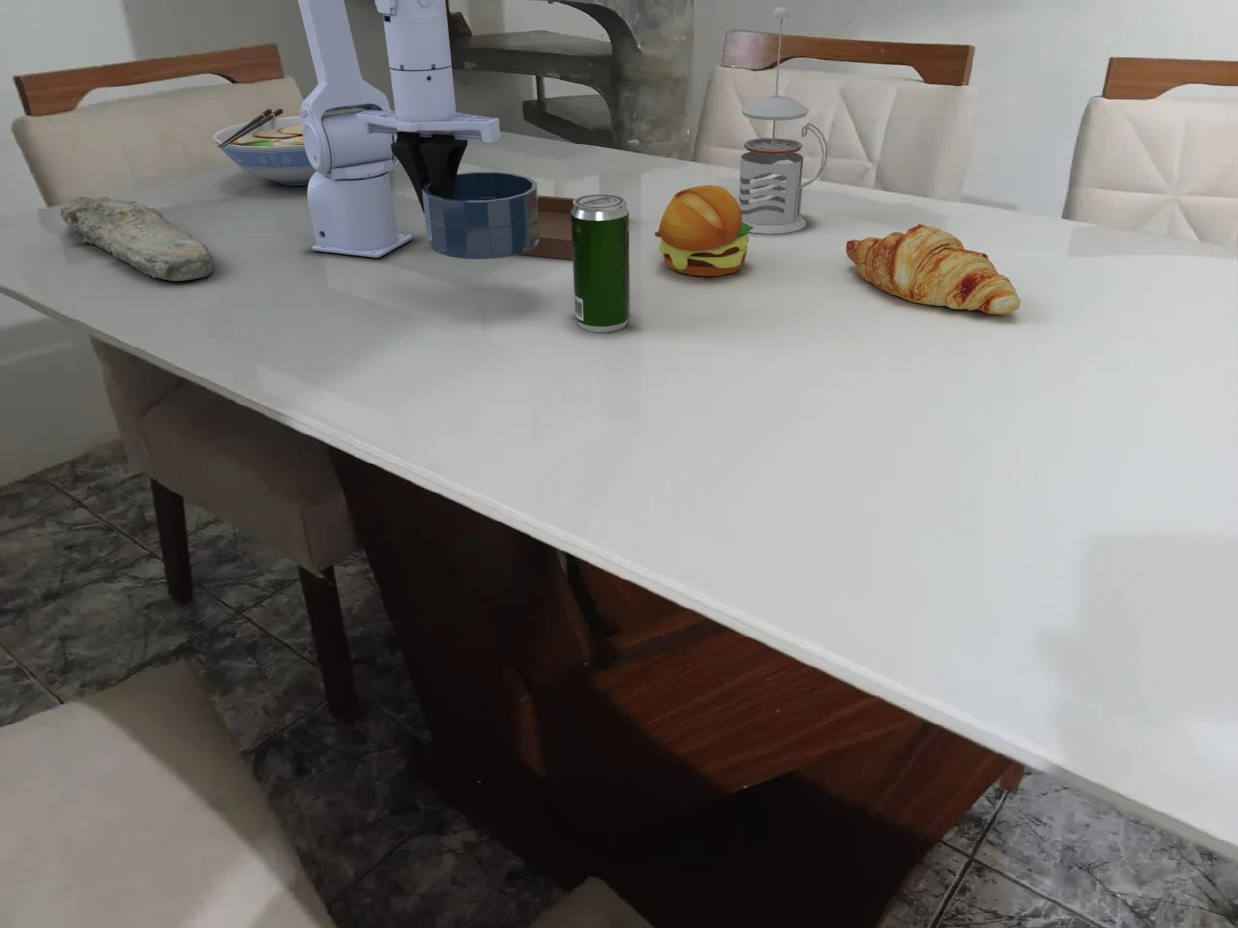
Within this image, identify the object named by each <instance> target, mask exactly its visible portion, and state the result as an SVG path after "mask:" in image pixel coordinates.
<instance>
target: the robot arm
mask: <svg viewBox="0 0 1238 928" xmlns="http://www.w3.org/2000/svg"><path fill="white" fill-rule="evenodd" d="M297 2H298V6H299V10H300V14H301V18H302V21H303V22H302V23H303V26H304V30H305V34H306V35H305V36H306V40H307V43H308V47H309V52H310V55H311V59H312V64H313V67H314V72H315V75H316V76H315V77H316V80H317V85H316V86H315V87H314V89H313V90H312V91H311V92H310V93H309V94H308V96H307V97H306V98H304V100H303V102H302V103H301V105H300V108H299V116H300V117H301V121H302V127H303V142H304V146H305V150H306V154H307V157H308V159H309V161H310V163H311V165H312V167H313V168H314V169H315V170H317V172H315V173H314V174H313V175H312V177H311V178H310V181H309V184H308V185H307V189H306V190H307V191H306V195H307V196H306V199H307V203H308V210H309V214H310V220H311V226H312V231H313V236H314V242H315V244H313V246H311V247H312V248H311V249H312V251H314V252H323V253H330V254H331V253H332V254H341V255H349V256H358V257H365V258H366V257H368V258H374V259H375V258H376V259H377V258H381V257H383V256H385V255H387V254H388V253H390V252H392V251H394V250H396V249H398V248H399V247H401V246H403V245H404V244H406V243H408V242H410V241H411V240H413V235H412V234H405V233H398V227H397V219H396V214H395V213H396V212H395V206H394V199H393V191H392V185H391V178H390V172H391V171H394V164H395V163H396V162H397V161H398V162H399V163H400V165H401V166H402V168H403V169H404V171H405V173H406V175H407V177H408V178H409V181H410V183H411V184H412V187H413V189H414V191H415V194H416V196H417V200H418V202H419V205H420V207H421V210H422V213H423V214H424V215H425V212H424V203H423V194H422V189H423V187H424V185H425V184H426V183H427V182H429V181H430V183H431V190H432V194H433V195H436V196H439V197H442V198H446V199H452V198H453V190H454V184H455V180H456V175H457V174H458V172H459V168H460V165H461V162H462V159H463V156H464V154H465V151H466V149H467V147H468V143H469V142H468V141H474V142H476V141H477V142H481V143H483V144H493V143H495V142H497V141H500V140H501V129H500V119H499V118H498V117H487V116H481V115H475V114H469V113H463V112H458V111H457V107H456V97H455V95H456V94H455V85H454V76H453V75H454V74H453V65H452V55H451V48H450V47H451V44H450V35H449V25H448V24H449V23H448V14H447V3H446V0H374V5H375V6H376V10H377V12H378V13H380V14H382V19H383V20H382V21H383V29H384V37H385V43H386V50H387V59H388V66H389V74H390V81H391V90H392V96H393V105H394V110H392V109H391V105H390V103H389V100H388V98H387V95H386V94H385V93H384V92H382V91H381V90H379V89H378V88H376V87H375V86H373V85H371V84H370V83H368V82H367V81H365V80H364V79H363V78H362V73H361V69H360V64H359V61H358V57H357V51H356V47H355V43H354V39H353V34H352V31H351V26H350V20H349V17H348V13H347V8H346V4H345V0H297ZM352 109H362V110H358V111H350V112H343V113H334V114H327V115H324V113H329V112H336V111H345V110H352Z"/></svg>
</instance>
